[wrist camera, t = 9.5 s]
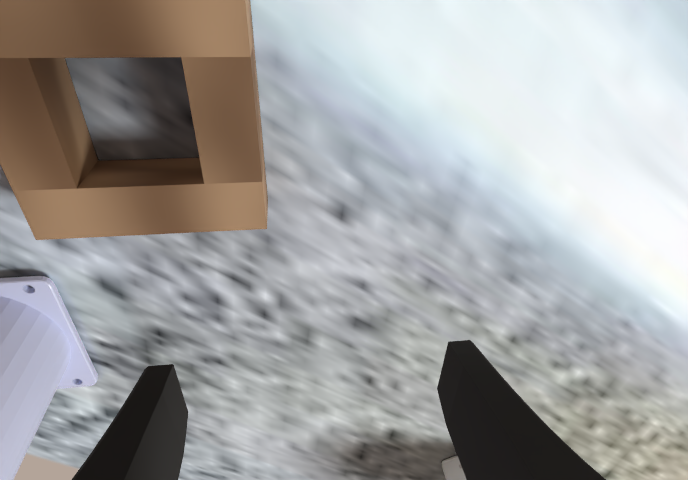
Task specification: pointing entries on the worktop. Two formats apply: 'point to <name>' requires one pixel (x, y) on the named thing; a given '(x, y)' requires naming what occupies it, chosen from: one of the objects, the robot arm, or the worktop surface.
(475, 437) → the robot arm
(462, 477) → the skincare box
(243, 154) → the socket block
